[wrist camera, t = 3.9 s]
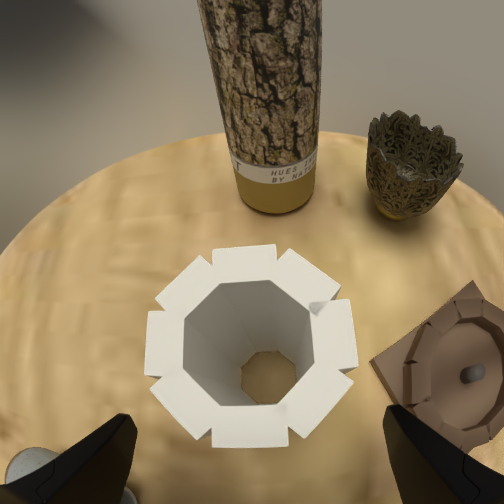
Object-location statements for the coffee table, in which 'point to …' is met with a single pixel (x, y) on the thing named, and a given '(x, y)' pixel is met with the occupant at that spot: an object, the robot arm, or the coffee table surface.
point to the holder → (452, 370)
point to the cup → (409, 165)
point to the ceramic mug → (37, 458)
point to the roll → (249, 345)
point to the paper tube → (268, 94)
